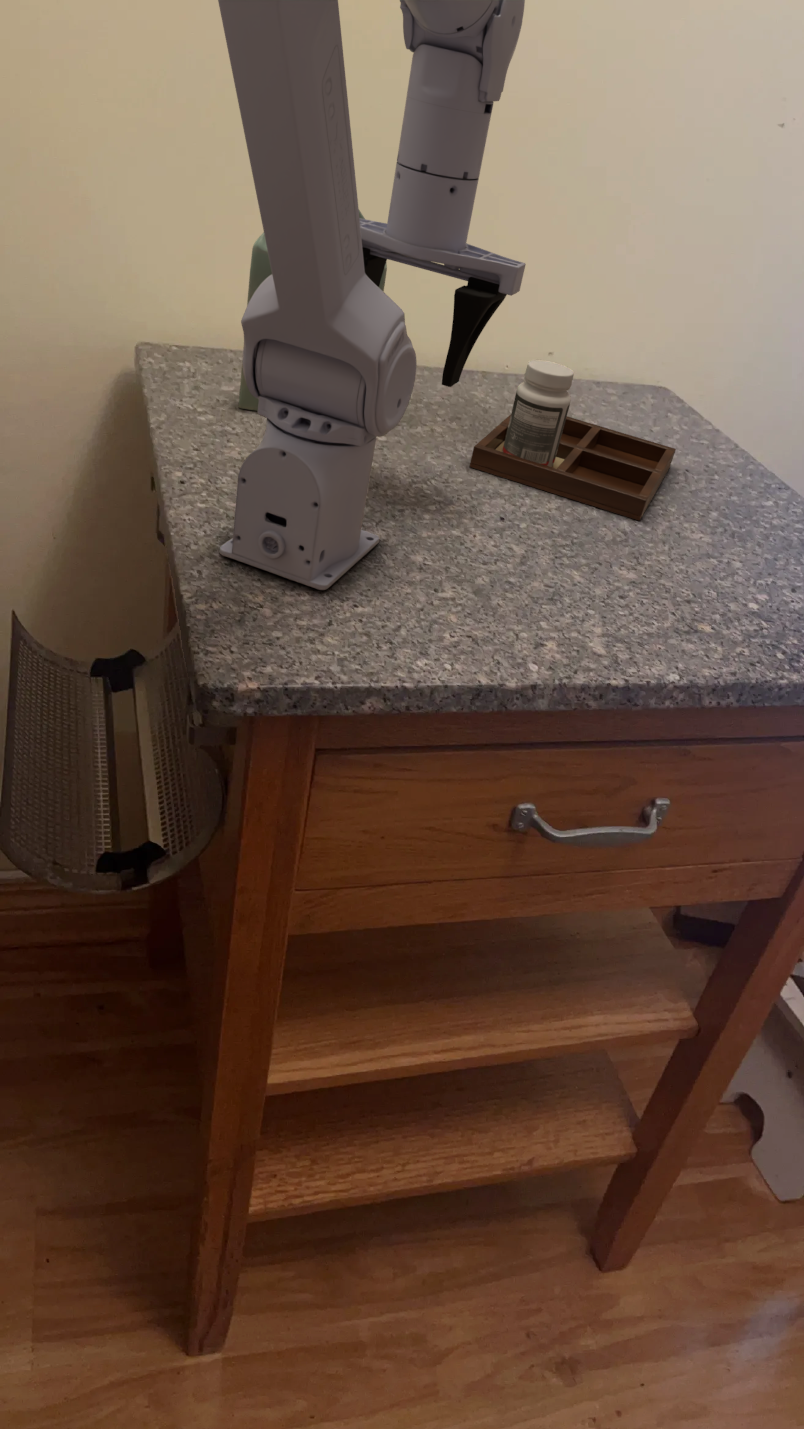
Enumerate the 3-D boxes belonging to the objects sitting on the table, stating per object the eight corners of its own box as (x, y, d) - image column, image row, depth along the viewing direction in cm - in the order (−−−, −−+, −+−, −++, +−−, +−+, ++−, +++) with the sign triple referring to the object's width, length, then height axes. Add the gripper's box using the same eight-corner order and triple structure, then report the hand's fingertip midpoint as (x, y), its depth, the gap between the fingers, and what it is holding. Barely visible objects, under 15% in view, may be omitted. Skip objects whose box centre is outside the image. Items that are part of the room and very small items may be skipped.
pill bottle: (520, 446, 95) (542, 354, 90) (562, 465, 93) (588, 372, 88) (490, 455, 91) (512, 361, 87) (534, 475, 89) (559, 379, 84)
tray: (639, 521, 87) (646, 500, 86) (469, 467, 90) (473, 446, 89) (669, 467, 99) (676, 448, 98) (518, 421, 102) (523, 402, 101)
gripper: (553, 191, 72) (508, 383, 80) (364, 143, 75) (339, 333, 83) (525, 199, 66) (480, 405, 74) (322, 148, 70) (299, 351, 77)
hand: (403, 369), depth 78 cm, fingers open, 7 cm apart
